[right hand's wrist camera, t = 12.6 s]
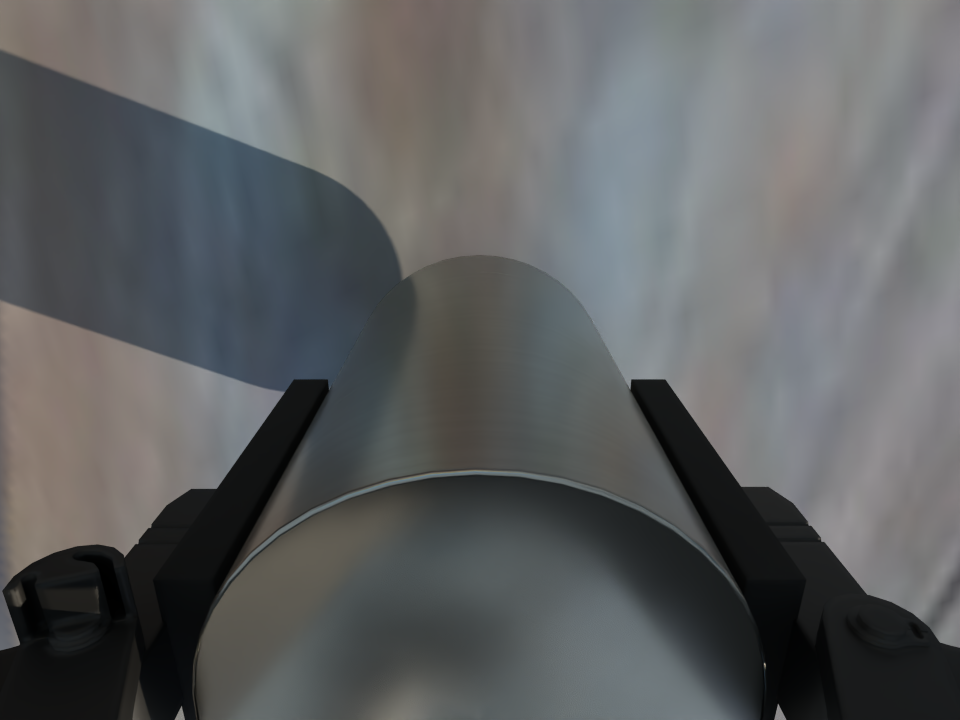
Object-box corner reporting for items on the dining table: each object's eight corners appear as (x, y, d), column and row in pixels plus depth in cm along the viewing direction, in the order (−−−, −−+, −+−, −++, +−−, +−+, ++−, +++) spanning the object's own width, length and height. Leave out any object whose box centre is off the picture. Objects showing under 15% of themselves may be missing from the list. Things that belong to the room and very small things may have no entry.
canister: (646, 311, 17) (889, 591, 7) (543, 513, 19) (611, 942, 9) (403, 214, 16) (276, 376, 6) (325, 438, 18) (138, 825, 8)
